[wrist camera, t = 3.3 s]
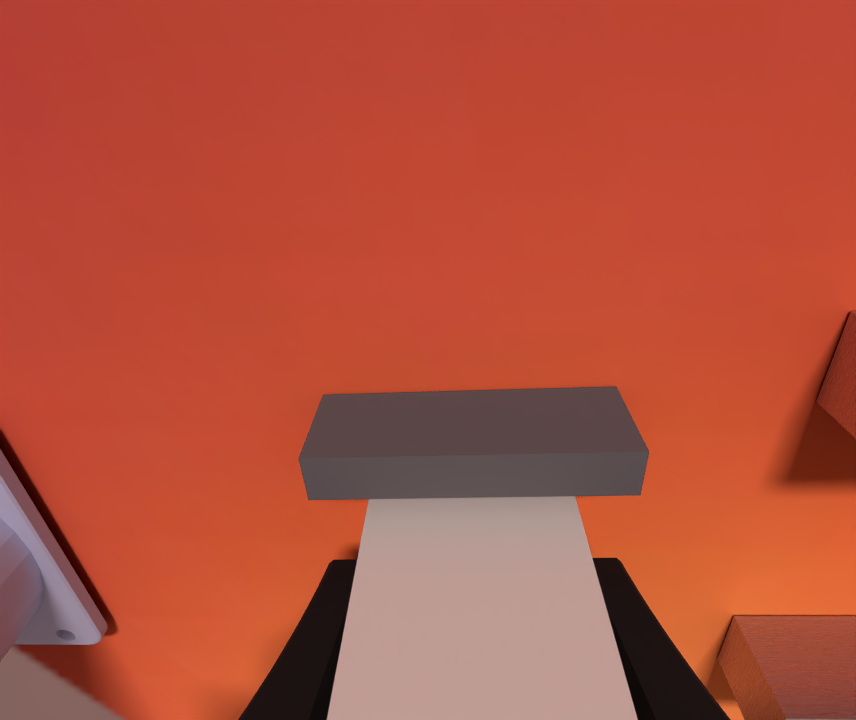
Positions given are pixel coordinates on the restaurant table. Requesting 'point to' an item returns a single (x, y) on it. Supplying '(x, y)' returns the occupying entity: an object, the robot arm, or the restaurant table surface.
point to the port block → (800, 617)
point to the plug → (477, 616)
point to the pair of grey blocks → (473, 445)
